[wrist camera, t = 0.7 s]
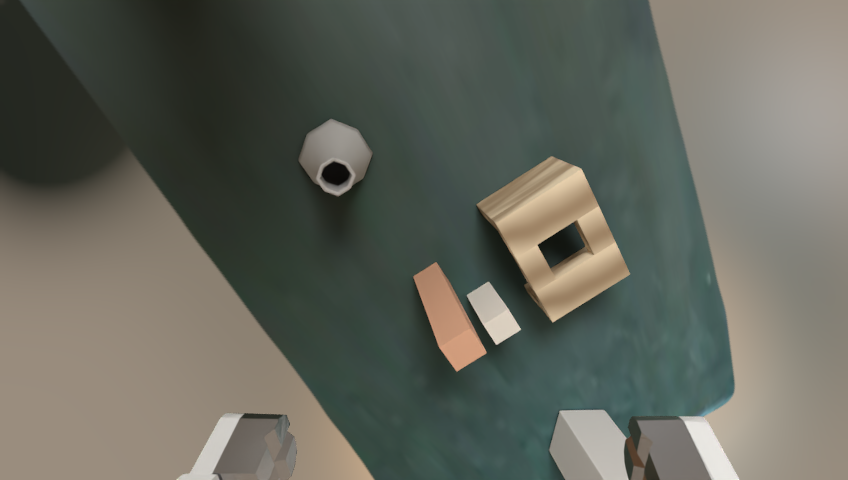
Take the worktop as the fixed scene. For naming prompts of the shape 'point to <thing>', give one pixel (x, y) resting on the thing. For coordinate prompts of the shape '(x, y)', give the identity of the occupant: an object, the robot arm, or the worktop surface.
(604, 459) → the milk carton
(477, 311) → the short block
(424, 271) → the long pin
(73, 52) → the worktop surface
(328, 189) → the flask
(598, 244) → the tan block with hole
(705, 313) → the worktop surface
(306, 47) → the worktop surface
